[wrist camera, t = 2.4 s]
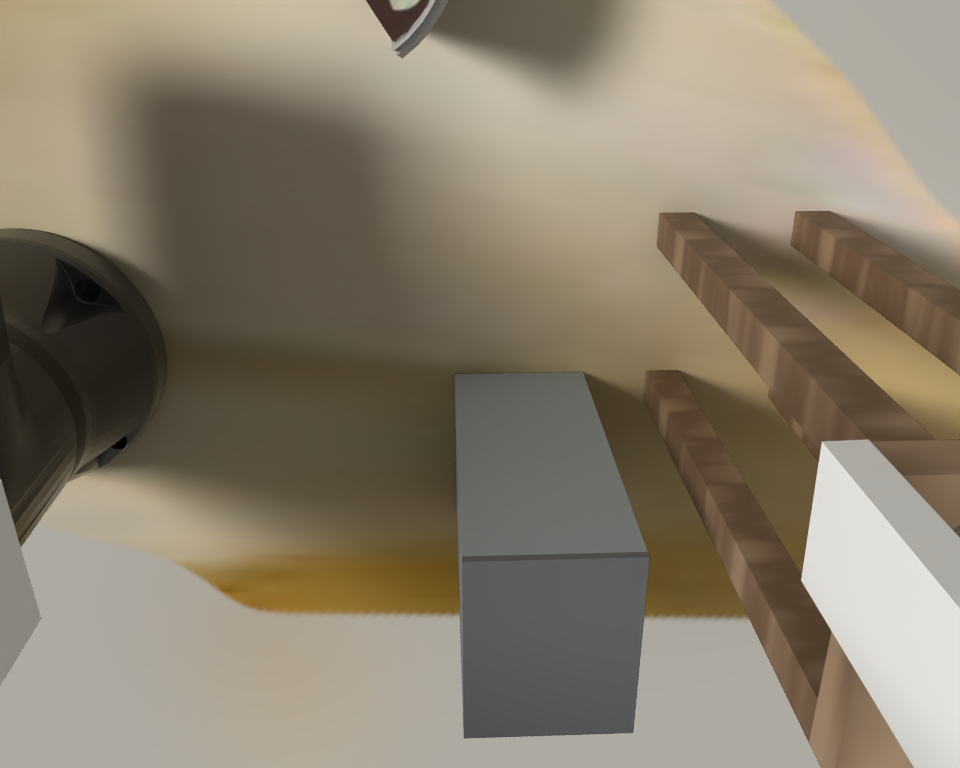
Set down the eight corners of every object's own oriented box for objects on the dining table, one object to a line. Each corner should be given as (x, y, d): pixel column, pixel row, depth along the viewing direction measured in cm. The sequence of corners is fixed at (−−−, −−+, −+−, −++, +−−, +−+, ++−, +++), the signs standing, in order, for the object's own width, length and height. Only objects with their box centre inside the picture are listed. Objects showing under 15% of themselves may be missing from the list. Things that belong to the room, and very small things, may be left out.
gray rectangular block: (456, 511, 60) (463, 738, 42) (454, 374, 56) (462, 561, 38) (575, 508, 60) (633, 732, 42) (582, 371, 56) (649, 557, 38)
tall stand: (644, 399, 57) (831, 789, 30) (659, 212, 52) (901, 475, 25) (799, 396, 57) (1124, 778, 30) (829, 211, 52) (1252, 468, 25)
